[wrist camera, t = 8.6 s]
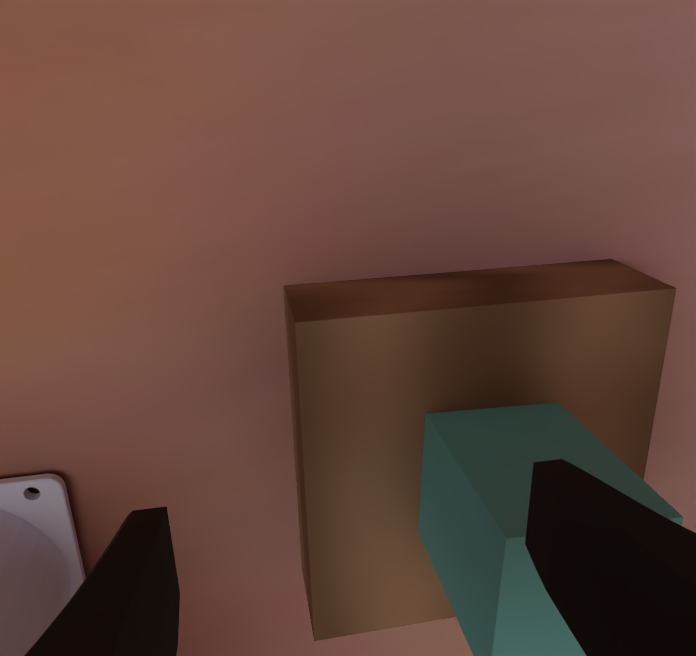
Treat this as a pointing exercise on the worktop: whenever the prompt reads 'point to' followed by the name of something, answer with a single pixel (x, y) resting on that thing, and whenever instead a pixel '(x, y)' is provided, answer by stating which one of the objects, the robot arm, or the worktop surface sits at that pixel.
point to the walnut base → (446, 405)
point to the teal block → (505, 518)
